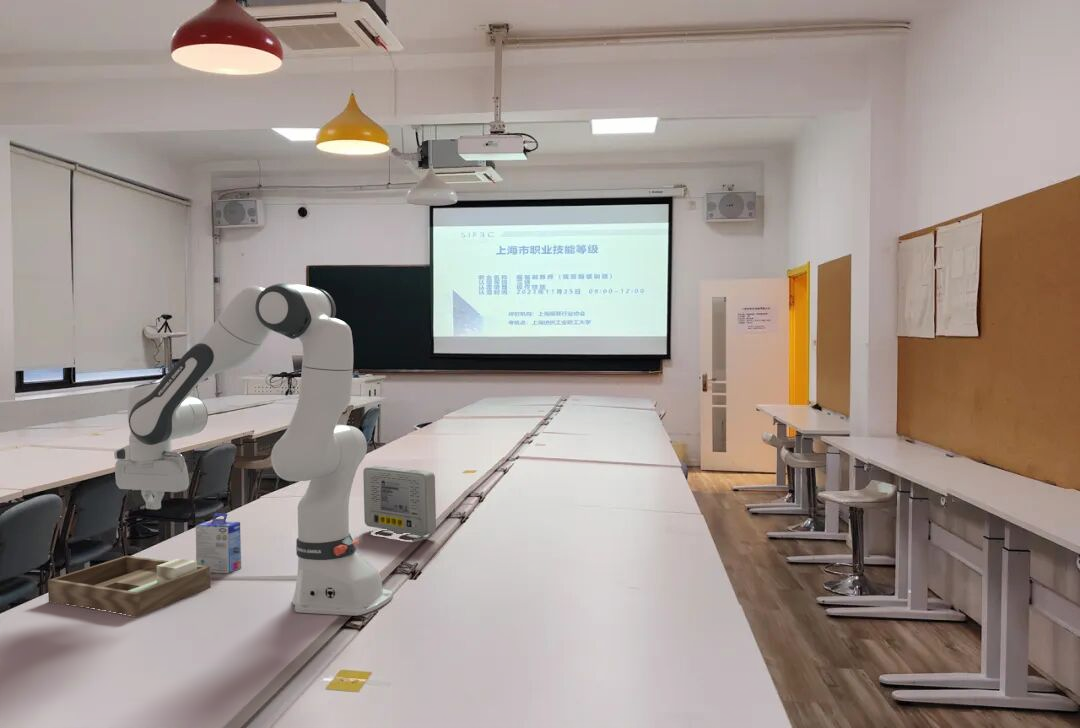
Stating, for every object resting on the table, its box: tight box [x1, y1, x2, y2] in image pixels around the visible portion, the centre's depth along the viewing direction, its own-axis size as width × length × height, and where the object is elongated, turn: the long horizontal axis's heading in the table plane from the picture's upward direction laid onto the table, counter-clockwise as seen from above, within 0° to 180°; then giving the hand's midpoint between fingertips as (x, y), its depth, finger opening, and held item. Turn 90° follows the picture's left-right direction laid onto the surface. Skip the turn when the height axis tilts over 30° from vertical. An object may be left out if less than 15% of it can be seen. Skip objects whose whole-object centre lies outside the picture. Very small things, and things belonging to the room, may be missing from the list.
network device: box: [362, 465, 437, 543], centre depth 218 cm, size 26×9×20 cm, turn 58°
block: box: [157, 558, 197, 583], centre depth 171 cm, size 6×6×4 cm
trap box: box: [47, 555, 211, 618], centre depth 170 cm, size 28×20×5 cm
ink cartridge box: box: [195, 512, 242, 574], centre depth 187 cm, size 10×6×14 cm, turn 78°
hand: (153, 508), depth 173 cm, fingers closed
